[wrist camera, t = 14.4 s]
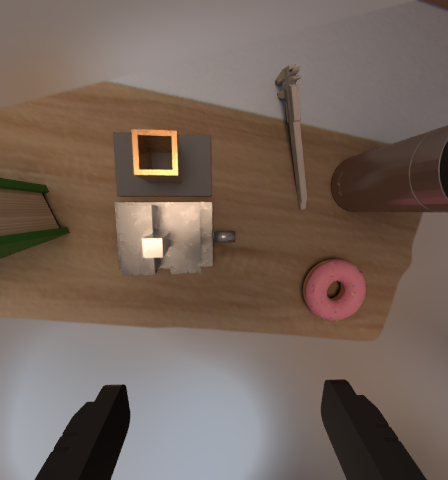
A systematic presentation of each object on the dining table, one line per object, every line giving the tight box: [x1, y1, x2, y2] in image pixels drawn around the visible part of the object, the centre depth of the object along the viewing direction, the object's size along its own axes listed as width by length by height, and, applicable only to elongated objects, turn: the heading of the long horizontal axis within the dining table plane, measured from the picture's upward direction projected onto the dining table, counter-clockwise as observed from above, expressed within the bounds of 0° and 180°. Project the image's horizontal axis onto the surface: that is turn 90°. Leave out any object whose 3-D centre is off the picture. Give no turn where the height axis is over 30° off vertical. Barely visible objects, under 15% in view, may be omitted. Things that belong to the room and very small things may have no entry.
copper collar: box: [132, 129, 182, 183], centre depth 30 cm, size 5×5×8 cm
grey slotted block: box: [115, 202, 235, 276], centre depth 30 cm, size 17×10×13 cm, turn 90°
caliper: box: [275, 64, 307, 210], centre depth 34 cm, size 20×1×6 cm, turn 15°
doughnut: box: [303, 259, 367, 321], centre depth 39 cm, size 11×11×4 cm
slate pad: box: [113, 132, 211, 196], centre depth 34 cm, size 14×9×1 cm, turn 90°
